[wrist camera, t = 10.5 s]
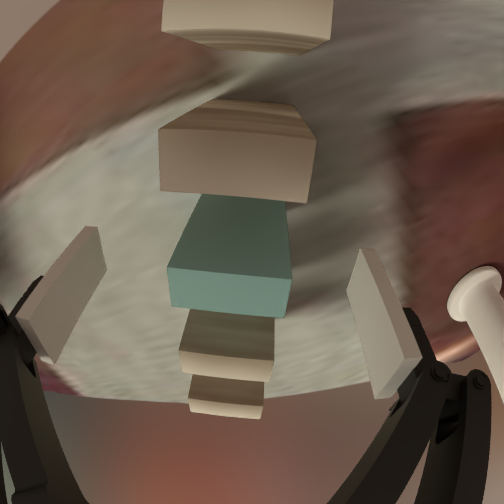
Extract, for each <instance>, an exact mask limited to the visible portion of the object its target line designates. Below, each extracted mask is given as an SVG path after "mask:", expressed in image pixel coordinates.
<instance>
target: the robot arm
mask: <svg viewBox="0 0 504 504" xmlns="http://www.w3.org/2000/svg"><path fill="white" fill-rule="evenodd" d="M106 271H107V268H106V264H105V259H104V255H103V251H102V246H101V242H100V237H99V232H98V227H91V226H85V227H84V228H83V229H82V231H81V232H80V233H79V234H78V235H77V236H76V237H75V239H74V240H73V241H72V242H71V243H70V244H69V246H68V247H67V248H66V249H65V250H64V252H63V253H62V254H61V255H60V257H59V258H58V259H57V260H56V261H55V263H54V264H53V265H52V267H51V268H50V269H49V270H48V272H47V273H46V274H45V276H40V277H39V278H37V279H36V280H35V281H33V282H32V284H31V285H30V286H29V288H28V289H27V291H26V292H25V293H24V295H23V297H21V299H20V300H19V301H18V303H17V304H16V306H15V307H14V309H13V310H12V311H11V313H10V314H9V316H8V315H7V313H6V312H5V310H4V308H3V306H2V305H1V304H0V504H7V498H6V491H5V484H4V477H3V467H2V454H1V442H2V446H3V450H4V454H5V458H6V461H7V465H8V468H9V471H10V474H11V477H12V480H13V483H14V487H15V493H14V494H13V495H12V497H11V501H12V504H89V503H88V502H87V501H86V499H85V498H84V496H83V494H82V492H81V490H80V489H79V486H78V484H77V482H76V480H75V478H74V476H73V474H72V471H71V469H70V467H69V464H68V462H67V460H66V457H65V455H64V452H63V450H62V447H61V445H60V442H59V439H58V437H57V434H56V431H55V428H54V425H53V422H52V419H51V416H50V413H49V410H48V407H47V403H46V400H45V396H44V393H43V389H42V385H41V381H40V377H39V373H38V369H37V364H36V362H35V359H34V356H35V354H36V353H37V354H38V356H39V357H40V359H41V360H42V361H44V362H47V363H50V364H53V365H55V364H56V362H57V360H58V357H59V355H60V353H61V351H62V349H63V347H64V345H65V343H66V342H67V340H68V338H69V336H70V334H71V332H72V330H73V328H74V326H75V324H76V323H77V321H78V319H79V317H80V315H81V314H82V312H83V310H84V308H85V306H86V305H87V303H88V301H89V299H90V298H91V296H92V294H93V293H94V291H95V289H96V287H97V286H98V284H99V282H100V281H101V279H102V277H103V276H104V274H105V273H106ZM346 292H347V295H348V299H349V302H350V305H351V309H352V312H353V316H354V319H355V323H356V327H357V330H358V334H359V337H360V341H361V345H362V349H363V353H364V357H365V361H366V365H367V369H368V373H369V377H370V381H371V385H372V390H373V394H374V399H382V398H391V397H392V396H393V394H394V393H395V392H396V391H397V390H398V394H399V399H398V400H397V401H396V402H395V404H394V405H393V406H392V407H391V408H390V409H389V411H391V412H390V413H389V415H388V417H387V419H386V420H385V422H384V424H383V425H382V427H381V429H380V430H379V432H378V434H377V435H376V437H375V438H374V440H373V441H372V443H371V444H370V446H369V448H368V449H367V451H366V452H365V454H364V455H363V457H362V458H361V459H360V461H359V462H358V464H357V465H356V466H355V468H354V469H353V471H352V472H351V474H350V475H349V476H348V477H347V479H346V480H345V481H344V483H343V484H342V485H341V487H340V488H339V489H338V491H337V492H336V493H335V494H334V496H333V497H332V498H331V499H330V500H329V502H328V503H327V504H395V503H396V502H397V500H398V499H399V497H400V495H401V493H402V492H403V490H404V488H405V487H406V485H407V483H408V481H409V480H410V478H411V476H412V474H413V472H414V470H415V468H416V466H417V465H418V462H419V461H420V459H421V457H422V455H423V452H424V450H425V448H426V446H427V444H428V442H429V440H430V443H429V448H428V453H427V457H426V463H425V466H424V470H423V474H422V478H421V482H420V485H419V489H418V493H417V496H416V499H415V502H414V504H482V501H483V495H484V490H485V483H486V477H487V469H488V460H489V451H490V436H491V383H490V380H489V378H488V376H487V375H486V374H485V373H484V372H482V371H481V370H477V369H474V370H471V371H470V372H469V374H468V375H467V376H462V375H457V374H453V373H451V371H450V369H449V368H448V367H447V366H446V365H445V364H444V363H442V362H440V361H437V360H436V357H435V355H434V352H433V350H432V347H431V345H430V343H429V340H428V338H427V336H426V334H425V331H424V329H423V327H422V324H421V322H420V320H419V318H418V316H417V315H416V314H415V313H414V311H413V310H412V309H411V308H402V306H401V304H400V302H399V300H398V298H397V295H396V293H395V291H394V289H393V287H392V285H391V282H390V280H389V278H388V276H387V274H386V272H385V270H384V268H383V266H382V264H381V262H380V260H379V258H378V256H377V254H376V252H375V250H374V249H367V248H360V250H359V253H358V256H357V260H356V263H355V266H354V269H353V272H352V275H351V278H350V281H349V284H348V287H347V290H346ZM430 437H431V438H430Z"/></svg>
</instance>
